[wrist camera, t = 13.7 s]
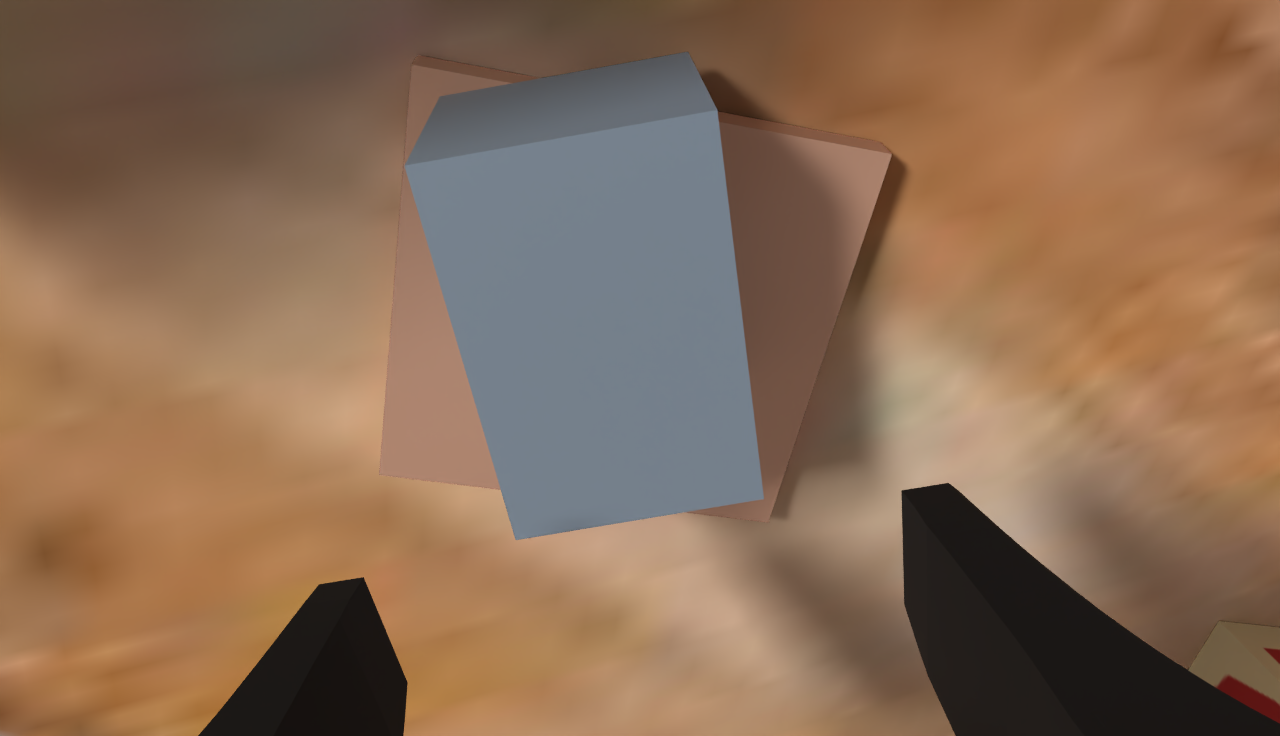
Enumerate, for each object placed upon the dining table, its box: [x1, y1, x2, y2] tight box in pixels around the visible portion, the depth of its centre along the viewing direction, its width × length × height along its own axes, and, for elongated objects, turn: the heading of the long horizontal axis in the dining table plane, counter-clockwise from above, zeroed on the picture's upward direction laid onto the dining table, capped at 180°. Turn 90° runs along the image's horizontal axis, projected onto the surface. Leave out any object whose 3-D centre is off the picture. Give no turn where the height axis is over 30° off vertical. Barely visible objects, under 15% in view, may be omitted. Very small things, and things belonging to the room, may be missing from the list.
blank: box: [404, 52, 764, 540], centre depth 17 cm, size 4×7×4 cm, turn 9°
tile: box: [379, 55, 892, 522], centre depth 20 cm, size 9×9×1 cm
